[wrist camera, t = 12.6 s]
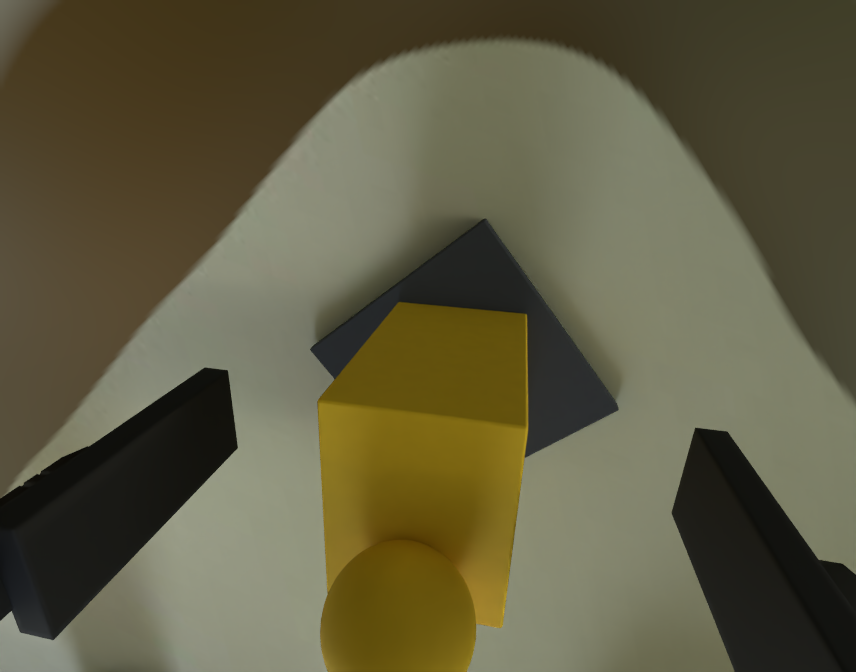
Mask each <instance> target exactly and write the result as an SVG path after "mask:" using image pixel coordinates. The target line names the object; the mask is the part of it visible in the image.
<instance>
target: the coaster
mask: <svg viewBox="0 0 856 672" xmlns="http://www.w3.org/2000/svg"><path fill="white" fill-rule="evenodd" d="M398 302H404V303H415V304H426V305H437V306H448V307H458V308H469V309H480V310H491V311H502V312H513V313H523V314H527V361H528V435H527V442H526V450H525V457H527V456H529V455H531V454H533V453H535V452H537V451H539V450H541V449H543V448H545V447H547V446H549V445H551V444H553V443H555V442H557V441H559V440H561V439H563V438H565V437H567V436H568V435H570V434H572V433H574V432H576V431H578V430H580V429H582V428H584V427H586V426H588V425H590V424H592V423H594V422H596V421H598V420H600V419H602V418H604V417H606V416H608V415H610V414H612V413H614V412H616V411H618V410H619V409H618V406H617V403H616V401H615V400H614V399H613V397H612V396H611V394H610V393H609V392H608V390H607V389H606V387H605V386H604V385H603V383H602V382H601V380H600V379H599V378H598V376H597V375H596V373H595V372H594V370H593V369H592V368H591V366H590V365H589V363H588V362H587V361H586V359H585V358H584V356H583V355H582V354H581V352H580V351H579V349H578V348H577V347H576V345H575V344H574V342H573V341H572V339H571V338H570V337H569V335H568V334H567V332H566V331H565V330H564V328H563V327H562V325H561V324H560V323H559V321H558V320H557V318H556V317H555V316H554V314H553V313H552V311H551V310H550V308H549V307H548V306H547V304H546V303H545V301H544V300H543V299H542V297H541V296H540V294H539V293H538V292H537V290H536V289H535V287H534V286H533V285H532V283H531V282H530V280H529V279H528V277H527V276H526V275H525V273H524V272H523V270H522V269H521V268H520V266H519V265H518V263H517V262H516V261H515V259H514V258H513V256H512V255H511V254H510V252H509V251H508V249H507V248H506V246H505V245H504V244H503V242H502V241H501V239H500V238H499V237H498V235H497V234H496V232H495V231H494V230H493V228H492V227H491V225H490V224H489V223H488V221H487V220H486V219H483V220H482V221H481V222H479V223H478V224H477V225H475V226H474V227H472V228H471V229H470V230H468V231H467V232H466V233H464V234H463V235H462V236H460V237H459V238H458V239H456V240H455V241H454V242H452V243H451V244H450V245H448V246H447V247H446V248H444V249H443V250H441V251H440V252H439V253H437V254H436V255H435V256H433V257H432V258H431V259H429V260H428V261H427V262H425V263H424V264H423V265H421V266H420V267H419V268H417V269H416V270H415V271H413V272H412V273H411V274H409V275H408V276H406V277H405V278H404V279H402V280H401V281H400V282H398V283H397V284H396V285H394V286H393V287H392V288H390V289H389V290H388V291H386V292H385V293H384V294H382V295H381V296H380V297H378V298H377V299H375V300H374V301H373V302H371V303H370V304H369V305H367V306H366V307H365V308H363V309H362V310H361V311H359V312H358V313H357V314H355V315H354V316H353V317H351V318H350V319H349V320H347V321H346V322H344V323H343V324H342V325H340V326H339V327H338V328H336V329H335V330H334V331H332V332H331V333H330V334H328V335H327V336H326V337H324V338H323V339H322V340H320V341H319V342H318V343H316V344H315V345H314V346H313V347H312V348H311V349H310V350H311V351H312V352H313V354H314V355H315V356H316V357H317V358H318V360H319V361H320V362H321V363H322V364H323V366H324V367H325V368H326V369H327V370H328V372H329V373H330V374H331V375H332V376H333V378H334V379H336V377H337V376H338V375H339V374H340V373H341V371H342V370H343V369H344V368H345V367H346V365H347V364H348V363H349V362H350V361H351V359H352V358H353V357H354V356H355V354H356V353H357V352H358V351H359V350H360V348H361V347H362V346H363V345H364V344H365V342H366V341H367V340H368V339H369V337H370V336H371V335H372V334H373V333H374V331H375V330H376V329H377V328H378V327H379V325H380V324H381V323H382V322H383V320H384V319H385V318H386V317H387V316H388V314H389V313H390V312H391V311H392V310H393V308H394V307H395V306H396V305H397V303H398Z"/></svg>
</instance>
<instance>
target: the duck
mask: <svg viewBox="0 0 856 672" xmlns="http://www.w3.org/2000/svg"><path fill="white" fill-rule="evenodd" d="M317 403H318V422H319V441H320V460H321V479H322V498H323V517H324V536H325V554H326V573H327V592H328V595H327V598H326V601H325V604H324V608H323V613H322V618H321V630H320V638H321V648H322V654H323V658H324V662H325V665H326V668H327V671H328V672H467V669H468V667H469V665H470V662H471V659H472V655H473V651H474V646H475V640H476V624H481V625H486V626H491V627H496V628H501V627H502V625H503V618H504V610H505V603H506V595H507V587H508V580H509V572H510V564H511V557H512V549H513V542H514V534H515V526H516V519H517V511H518V503H519V496H520V488H521V480H522V473H523V465H524V458H525V450H526V442H527V435H528V361H527V314H523V313H513V312H502V311H491V310H480V309H469V308H458V307H448V306H437V305H426V304H415V303H404V302H398V303H397V305H396V306H395V307H394V308H393V310H392V311H391V312H390V313H389V314H388V316H387V317H386V318H385V319H384V320H383V322H382V323H381V324H380V325H379V327H378V328H377V329H376V330H375V331H374V333H373V334H372V335H371V336H370V337H369V339H368V340H367V341H366V342H365V344H364V345H363V346H362V347H361V348H360V350H359V351H358V352H357V353H356V354H355V356H354V357H353V358H352V359H351V361H350V362H349V363H348V364H347V365H346V367H345V368H344V369H343V370H342V371H341V373H340V374H339V375H338V376H337V377H336V379H335V380H334V381H333V382H332V384H331V385H330V386H329V387H328V388H327V390H326V391H325V392H324V393H323V394H322V396H321V397H320V398H319V399H318V401H317Z"/></svg>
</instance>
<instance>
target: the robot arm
mask: <svg viewBox="0 0 856 672" xmlns="http://www.w3.org/2000/svg"><path fill="white" fill-rule="evenodd" d="M237 448H238V446H237V438H236V430H235V423H234V415H233V407H232V399H231V391H230V384H229V376H228V370H220V369H212V368H203V369H202V370H200V371H199V372H198V373H196V374H195V375H193V376H192V377H190V378H189V379H187V380H186V381H184V382H183V383H181V384H180V385H179V386H177V387H176V388H174V389H173V390H171V391H170V392H168V393H167V394H165V395H164V396H162V397H161V398H160V399H158V400H157V401H155V402H154V403H152V404H151V405H149V406H148V407H146V408H145V409H143V410H142V411H141V412H139V413H138V414H136V415H135V416H133V417H132V418H130V419H129V420H127V421H126V422H124V423H123V424H122V425H120V426H119V427H117V428H116V429H114V430H113V431H111V432H110V433H108V434H107V435H105V436H104V437H103V438H101V439H100V440H98V441H97V442H95V443H94V444H92V445H91V446H89V447H88V446H87V447H85V448H83V449H80V450H78V451H76V452H73V453H71V454H69V455H66V456H64V457H62V458H60V459H59V460H57V461H56V462H54V463H53V464H51V465H50V466H48V467H47V468H45V469H44V470H42V471H41V474H40V475H39V474H36V475H35V476H33V477H32V478H30V479H29V480H27V481H26V482H24V485H23V486H18V487H17V488H15V489H14V490H12V491H11V492H9V493H8V494H6V495H5V496H3V497H2V498H0V621H1V620H2V619H3V618H4V617H5V616H6V615H7V614H8V613H9V612H11V611H12V613H13V615H14V618H15V620H16V623H17V625H18V628H19V631H20V632H21V633H25V634H29V635H34V636H38V637H42V638H47V639H51V640H54V639H55V638H56V637H57V636H58V635H59V634H60V633H61V632H62V631H63V629H64V628H65V627H66V626H67V625H68V624H69V623H70V622H71V621H72V620H73V619H74V618H75V617H76V616H77V615H78V614H79V613H80V612H81V611H82V610H83V609H84V608H85V607H86V606H87V604H88V603H89V602H90V601H91V600H92V599H93V598H94V597H95V596H96V595H97V594H98V593H99V592H100V591H101V590H102V589H103V588H104V587H105V586H106V585H107V584H108V583H109V582H110V581H111V579H112V578H113V577H114V576H115V575H116V574H117V573H118V572H119V571H120V570H121V569H122V568H123V567H124V566H125V565H126V564H127V563H128V562H129V561H130V560H131V559H132V558H133V557H134V556H135V554H136V553H137V552H138V551H139V550H140V549H141V548H142V547H143V546H144V545H145V544H146V543H147V542H148V541H149V540H150V539H151V538H152V537H153V536H154V535H155V534H156V533H157V532H158V531H159V529H160V528H161V527H162V526H163V525H164V524H165V523H166V522H167V521H168V520H169V519H170V518H171V517H172V516H173V515H174V514H175V513H176V512H177V511H178V510H179V509H180V508H181V507H182V506H183V504H184V503H185V502H186V501H187V500H188V499H189V498H190V497H191V496H192V495H193V494H194V493H195V492H196V491H197V490H198V489H199V488H200V487H201V486H202V485H203V484H204V483H205V482H206V481H207V479H208V478H209V477H210V476H211V475H212V474H213V473H214V472H215V471H216V470H217V469H218V468H219V467H220V466H221V465H222V464H223V463H224V462H225V461H226V460H227V459H228V458H229V457H230V456H231V454H232V453H233V452H234V451H235V450H236V449H237ZM672 515H673V518H674V520H675V523H676V525H677V528H678V530H679V533H680V535H681V538H682V540H683V543H684V545H685V548H686V550H687V553H688V555H689V558H690V560H691V563H692V565H693V568H694V570H695V573H696V575H697V578H698V580H699V583H700V585H701V588H702V590H703V593H704V595H705V598H706V600H707V603H708V605H709V608H710V610H711V613H712V615H713V618H714V620H715V623H716V625H717V628H718V630H719V633H720V635H721V638H722V640H723V643H724V645H725V648H726V650H727V653H728V655H729V658H730V660H731V663H732V665H733V668H734V670H735V672H856V575H855V574H854V573H853V572H852V571H850V570H849V569H848V568H847V567H846V566H844V565H843V564H841V563H834V562H828V561H822V560H818V559H817V557H816V556H815V554H814V553H813V552H812V550H811V549H810V547H809V546H808V544H807V543H806V542H805V540H804V539H803V537H802V536H801V535H800V533H799V532H798V530H797V529H796V528H795V526H794V525H793V523H792V522H791V521H790V519H789V518H788V516H787V515H786V514H785V512H784V511H783V509H782V508H781V506H780V505H779V504H778V502H777V501H776V499H775V498H774V497H773V495H772V494H771V492H770V491H769V490H768V488H767V487H766V485H765V484H764V483H763V481H762V480H761V478H760V477H759V475H758V474H757V473H756V471H755V470H754V468H753V467H752V466H751V464H750V463H749V461H748V460H747V459H746V457H745V456H744V454H743V453H742V452H741V450H740V449H739V447H738V446H737V445H736V443H735V442H734V440H733V439H732V437H731V436H730V435H729V433H728V432H726V431H717V430H709V429H701V428H695V431H694V434H693V438H692V441H691V445H690V449H689V452H688V456H687V459H686V463H685V467H684V470H683V474H682V477H681V481H680V485H679V488H678V492H677V495H676V499H675V503H674V506H673V510H672Z"/></svg>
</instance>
